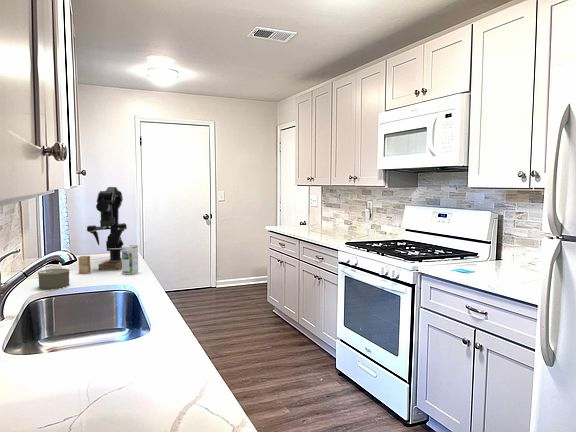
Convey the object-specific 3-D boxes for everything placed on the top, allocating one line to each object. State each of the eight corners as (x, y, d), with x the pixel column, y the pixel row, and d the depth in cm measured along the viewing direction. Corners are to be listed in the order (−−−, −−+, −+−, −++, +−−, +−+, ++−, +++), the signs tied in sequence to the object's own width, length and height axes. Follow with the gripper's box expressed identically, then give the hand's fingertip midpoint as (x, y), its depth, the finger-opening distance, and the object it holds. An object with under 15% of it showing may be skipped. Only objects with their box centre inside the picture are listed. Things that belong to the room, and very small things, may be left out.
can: (69, 288, 176) (68, 272, 176) (37, 291, 171) (36, 275, 171) (70, 282, 187) (69, 267, 187) (40, 285, 182) (39, 269, 181)
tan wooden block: (82, 272, 208) (81, 255, 207) (90, 272, 208) (90, 255, 208) (79, 273, 204) (78, 257, 204) (87, 273, 204) (86, 257, 204)
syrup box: (121, 274, 204) (120, 245, 203) (129, 271, 209) (128, 244, 208) (131, 275, 202) (130, 246, 201) (138, 272, 208) (138, 244, 207)
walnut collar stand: (106, 266, 224) (105, 260, 223) (125, 266, 224) (125, 260, 224) (98, 270, 213) (98, 264, 213) (119, 269, 214) (118, 264, 214)
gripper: (84, 213, 204) (86, 244, 202) (124, 211, 209) (126, 241, 208) (87, 216, 214) (89, 246, 213) (125, 214, 220) (127, 242, 218)
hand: (108, 244), depth 213 cm, fingers open, 9 cm apart
